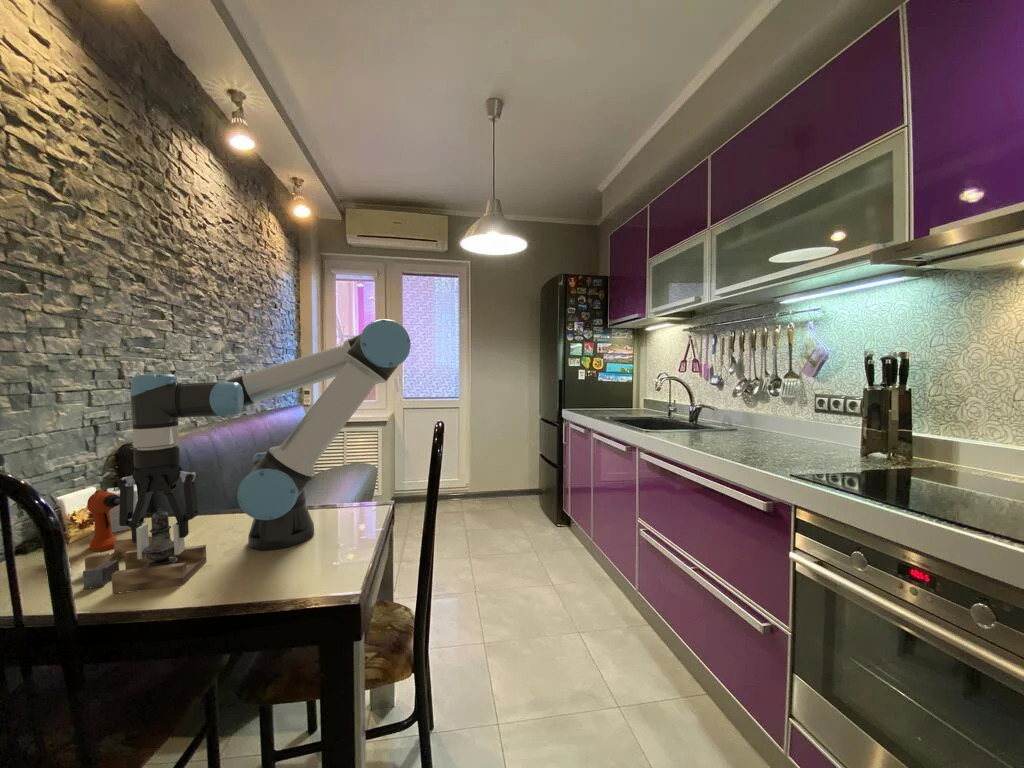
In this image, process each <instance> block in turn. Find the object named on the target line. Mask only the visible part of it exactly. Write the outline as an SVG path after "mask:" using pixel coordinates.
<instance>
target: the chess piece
mask: <svg viewBox="0 0 1024 768" xmlns="http://www.w3.org/2000/svg"><path fill="white" fill-rule="evenodd" d="M150 518H151V529H150V530H149V532H150V534H151V535H152V542H151V545H150V546H148V547H146V548H145V549H144V550H143V552H144V553H145V555H146V557H147V558H148V559H149V560H152V561H151V562H150V563H148V564H147V565H146V567H153V566H161V565H169V564H173V563H175V562H176V561H177V560H178V558H176V557H172V555H173V554H174V540H172V538H171V531H170V529H171V528H172V526H170V525H169V524H170V523H169V522H170V520H169V513H168V511H163V510H162V507H158V509H157V511H156V512H155V513H153V514H152V516H151V517H150Z"/></svg>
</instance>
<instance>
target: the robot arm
mask: <svg viewBox="0 0 1024 768" xmlns="http://www.w3.org/2000/svg"><path fill="white" fill-rule="evenodd" d="M411 347H412V346H411V337H410V335H409V333H408V331H407V330H406V328H405V327H404V326H402V325H401V323H399V322H396V321H395V320H393V319H389V318H388V319H386V318H385V319H383V318H382V319H376V320H374V321H372V322H371V321H370V323H368V324H367V325H366V326H364V328H363V330H362V332H361V333H360V334H358V335H355V336H354V337H351V338H347V339H345V341H344V343H343V344H340V345H337V346H334V347H330V348H328V349H325V350H321V351H318V352H315V353H314V352H313V353H312V354H308V355H305V356H302V357H299V358H296V359H293V360H289V361H285V362H282V363H279V364H276V365H273V366H269V367H267V368H262V369H259V370H256V371H254V372H250V373H247V374H244V375H241V376H237V377H233V378H231V379H230V378H229V379H227V380H224V381H215V382H214V381H212V382H211V381H210V382H209V381H208V382H189V383H188V382H179V381H178V380H177V376H176V375H175V374H171V373H169V374H167V373H166V374H165V373H164V374H162V373H161V374H136V375H134V376H133V377H132V378H131V381H130V395H129V398H130V408H131V424H132V425H131V426H132V447H133V448H135V450H134V451H133V452H132V453H133V467H134V471H133V473H132V475H130V476H125V477H121V478H119V479H117V480H116V485H117V487H119V489H120V511H119V525H120V526H128V527H130V528H131V529H130V530H131V537H132V542H133V543H137V557H138V559H143V558H144V557H145V556H146V555H145V553H144V552H143V550H144V549H145V548H146V547H148V546H149V539H148V535H149V524H148V523H145V522H146V520H145V519H146V514H147V511H148V509H149V506H150V503H151V502H150V501H151V499H152V495H153V494H154V492H155V491H157V492H163V495H165V496H166V499H167V501H168V503H169V505H170V508H171V510H172V512H173V515H174V517H175V520H176V522H175V523H174V524H172V529H173V530H172V531H173V532H172V533H173V541H174V555H179V554H180V553H181V552H183V551H184V550H185V547H186V546H185V538H186V537H187V536H189V532H190V531H189V529H190V527H189V521H191V520H193V519H194V518H196V517H198V515H199V505H198V496H197V486H196V481H197V477H198V473H197V471H193V472H190V471H189V472H188V471H184V470H183V469H182V467H181V455H180V453H181V451H180V446H179V445H177V444H178V443H180V435H179V434H180V432H179V431H180V430H179V429H180V428H179V419H180V418H182V419H183V418H200V417H201V418H203V417H204V418H206V417H207V418H208V417H227V416H237V415H239V414H241V412H243V408H245V407H248V406H251V405H253V404H256V403H260V402H262V401H264V400H268V399H272V398H275V397H277V396H281V395H283V394H286V393H287V394H288V393H290V392H293V391H296V390H298V389H302V388H305V387H308V386H311V385H314V384H317V383H320V382H324V381H326V380H330V379H332V378H334V379H333V380H331V382H330V383H329V385H328V386H327V387H326V389H325V390H324V391H323V392H322V394H321V395H320V396H319V397H318V398H317V400H315V402H314V404H313V405H312V406H311V407H310V408H309V410H308V411H307V412H306V414H305V415H304V416H303V417H302V418H301V420H300V421H299V422H298V424H297V425H296V426H295V427H294V429H293V430H292V431H291V432H290V434H289V435H288V436H287V437H286V438H285V440H284V441H283V442H282V444H281V445H278V446H277V445H276V446H272V447H270V448H269V449H268V450H267V451H265V452H257V453H255V454H254V455H253V457H252V458H253V460H252V467H253V468H252V470H251V471H250V472H249V473H248V474H247V475H245V476H244V478H243V479H242V480H241V482H240V483H239V486H238V490H237V494H236V495H237V503H238V505H239V507H240V509H241V510H242V511H243V513H245V514H246V515H247V516H249V517H251V518H253V520H252V523H251V527H250V530H249V533H248V535H247V536H248V538H247V539H248V546H249V547H250V548H252V549H253V550H258V551H259V550H260V551H261V550H262V551H263V550H264V551H265V550H277V549H282V548H283V549H284V548H287V547H292V546H296V545H298V544H301V543H303V542H305V541H307V540H310V538H312V537H313V536H314V535H315V524H314V521H313V518H312V516H311V514H310V511H309V509H308V507H307V499H306V496H307V495H306V487H307V485H308V484H309V483H310V482H311V481H312V479H313V478H314V476H315V475H316V471H315V464H316V463H317V462H318V460H319V459H320V458H321V457H322V455H323V454H324V453H325V452H326V450H327V449H328V448H329V446H330V445H331V444H332V442H333V441H334V440H335V438H336V437H337V436H338V434H339V433H340V432H341V431H342V429H343V428H344V427H345V426H346V425H347V423H348V422H349V420H350V419H351V417H352V416H353V415H354V414H355V413H356V411H357V410H358V408H359V407H360V406H361V405H362V403H363V402H364V401H365V399H366V398H367V397H368V395H369V394H370V393H372V391H373V389H374V387H376V385H378V384H385V383H387V381H388V380H389V378H390V377H391V376H392V375H393V373H395V371H396V369H397V368H398V367H399V366H400V365H401V364H403V363H404V362H405V361H406V359H408V357H409V355H410V351H411ZM180 478H181V482H183V494H184V501H185V503H184V501H183V498H182V496H181V494H180V492H179V486H178V484H177V482H178V481H179V479H180ZM136 483H137V484H138V485H139V486H140V488H139V491H138V493H137V496H138V501H137V504H136V507H135V511H134V514H133V504H134V486H133V485H136Z"/></svg>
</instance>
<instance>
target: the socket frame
mask: <svg viewBox="0 0 1024 768" xmlns="http://www.w3.org/2000/svg"><path fill="white" fill-rule="evenodd" d="M148 539H149V546H150V545H151V542H152V534H150V535H149V534H148ZM113 550H114V551H113V552H112V553H111V554H110V553H109V552H107V553H100V554H99V553H98V554H90V555H87V556H85V557H84V570H86V569H93V568H95V567H97V566H99V565H100V564H102V563H103V562H106V561H114V560H118V559H119V558H121V557H124V564H125V570H128V569H136V568H138V567H139V566H140V559H138V557H137V543H133V542H132V536H131V537H121V538H116V540H114V548H113ZM120 556H121V557H120Z"/></svg>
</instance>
